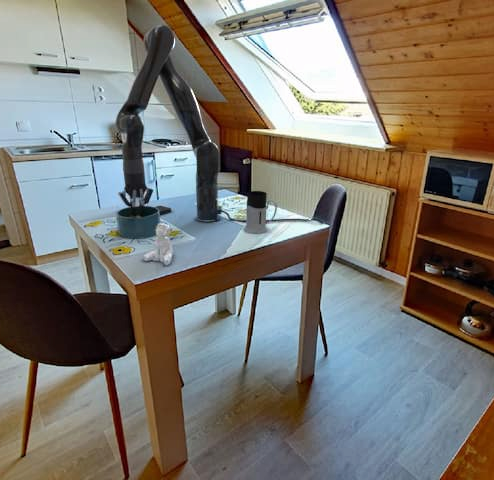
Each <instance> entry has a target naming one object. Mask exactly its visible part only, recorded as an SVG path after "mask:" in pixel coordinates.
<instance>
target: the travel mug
mask: <svg viewBox="0 0 494 480" xmlns="http://www.w3.org/2000/svg"><path fill="white" fill-rule="evenodd" d="M267 194H268V193H267V192H266V191H263V190H252V191H247V196H246V197H247V199H246V213H245V214H246V215H245V217H246V218H245V220H246V222H245V228H244V231H245V232H247V233H250V234H263V233H266V232H267V230H268V229H267V227H266V226H267V224H269V223H270V222H272V221H271V220H274V218H275V216H276V214H277V210H278V204H277V202H276V200H274V199H269V200H268V201H267V199H268V197H267ZM270 202H273V204H274V205H275V206H274V213H273V215H272V217H271V218H270V219H269V220H270V221H268V222H266V220H267V210H268V209H269V204H270Z"/></svg>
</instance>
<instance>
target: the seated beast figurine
mask: <svg viewBox="0 0 494 480" xmlns="http://www.w3.org/2000/svg"><path fill="white" fill-rule="evenodd" d="M173 229H174V228H173V227H170V226H169V225H168V224H167V223H164V222H160V223H159V224H158V225H157V227H156V235H155V236H156V237H155V241H154V242H153V245H154V246H155V249H154V250H152V251H148V252H146V253H145V254H144V255H143V260H144V261H145V262H151V261H155V262H156V261H157V262H161V263H163V264H164V265H165V266H168V265H170V264H171V263H172V258H173V255H174V248H173V246H172V244H171V239H170V238H169V237H168V236H170V233H171V232H173Z"/></svg>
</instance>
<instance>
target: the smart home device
mask: <svg viewBox="0 0 494 480" xmlns="http://www.w3.org/2000/svg"><path fill="white" fill-rule="evenodd" d="M154 207H155V208H158V209H159V212H160V216H161V215H162V216H163V215H165V214H169V213H172V208H171V207H168V206H164V205H156V206H154Z"/></svg>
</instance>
